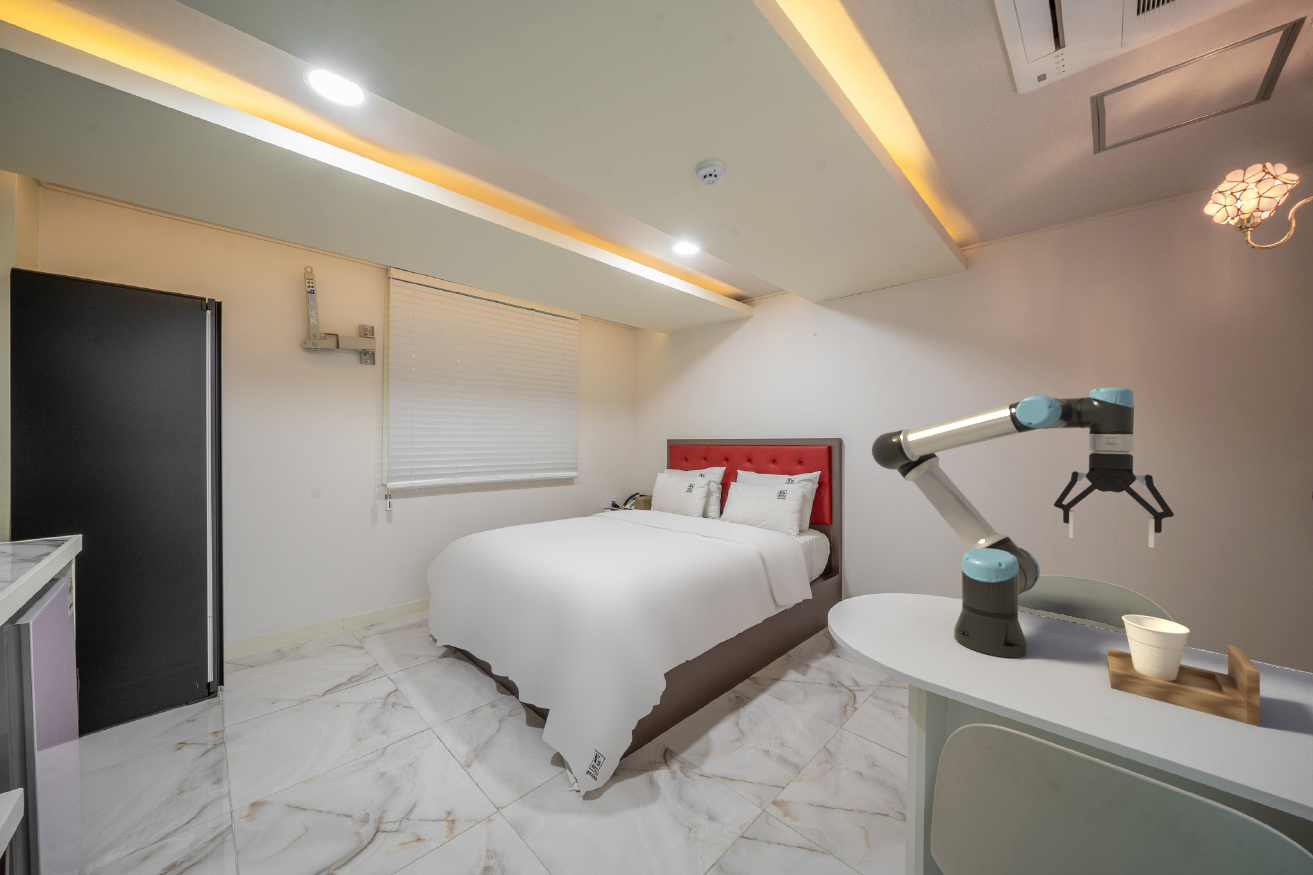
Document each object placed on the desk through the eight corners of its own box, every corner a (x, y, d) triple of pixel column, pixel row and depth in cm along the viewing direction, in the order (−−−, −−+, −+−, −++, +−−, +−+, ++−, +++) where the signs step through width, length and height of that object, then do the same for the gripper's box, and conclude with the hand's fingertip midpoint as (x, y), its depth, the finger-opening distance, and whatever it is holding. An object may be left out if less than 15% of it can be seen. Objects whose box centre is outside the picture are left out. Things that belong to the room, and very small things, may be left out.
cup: (1205, 689, 93) (1205, 635, 93) (1146, 684, 95) (1146, 630, 95) (1162, 665, 102) (1162, 616, 102) (1109, 661, 104) (1109, 612, 104)
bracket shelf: (1111, 687, 98) (1111, 640, 98) (1107, 663, 108) (1107, 621, 108) (1259, 726, 85) (1259, 672, 85) (1239, 694, 95) (1239, 646, 95)
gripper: (1041, 451, 116) (1040, 535, 116) (1192, 455, 99) (1191, 554, 99) (1044, 450, 122) (1043, 531, 122) (1187, 454, 104) (1186, 547, 104)
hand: (1109, 541), depth 110 cm, fingers open, 13 cm apart
